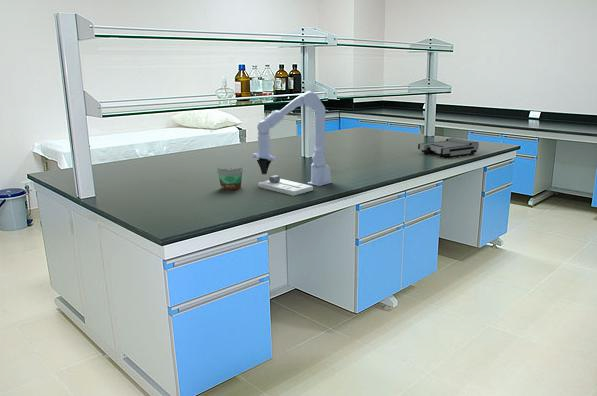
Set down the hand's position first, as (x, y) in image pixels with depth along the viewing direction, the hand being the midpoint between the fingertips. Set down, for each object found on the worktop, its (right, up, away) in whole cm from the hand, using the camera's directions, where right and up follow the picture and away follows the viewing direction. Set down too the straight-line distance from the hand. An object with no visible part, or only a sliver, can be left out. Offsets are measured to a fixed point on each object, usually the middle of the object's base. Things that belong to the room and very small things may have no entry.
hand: (264, 174), depth 237 cm
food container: (-14, -8, -9) cm, 19 cm away
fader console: (+10, -7, -8) cm, 15 cm away
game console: (+112, +16, +77) cm, 137 cm away
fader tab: (+5, -4, -4) cm, 8 cm away
